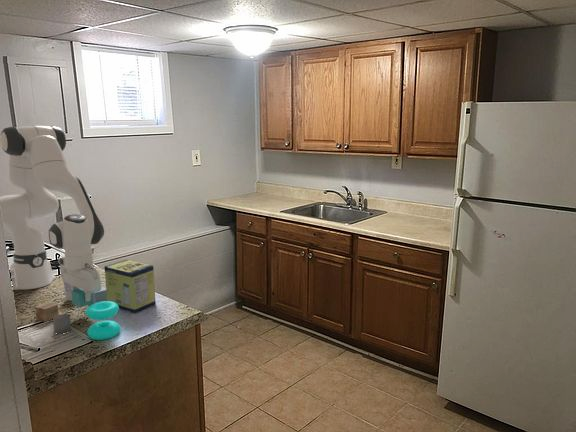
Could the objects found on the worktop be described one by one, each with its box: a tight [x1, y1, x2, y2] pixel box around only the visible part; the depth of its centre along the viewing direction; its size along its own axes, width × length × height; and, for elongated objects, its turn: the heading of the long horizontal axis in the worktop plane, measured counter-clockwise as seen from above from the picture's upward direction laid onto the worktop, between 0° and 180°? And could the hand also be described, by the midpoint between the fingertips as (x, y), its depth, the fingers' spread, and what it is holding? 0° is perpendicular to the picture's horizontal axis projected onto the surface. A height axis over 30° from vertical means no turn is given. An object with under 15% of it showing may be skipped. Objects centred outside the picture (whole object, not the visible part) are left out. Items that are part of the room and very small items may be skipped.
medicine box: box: [63, 282, 73, 302], centre depth 181 cm, size 8×4×9 cm, turn 168°
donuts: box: [85, 301, 121, 341], centre depth 149 cm, size 10×10×10 cm
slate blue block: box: [93, 285, 107, 304], centre depth 177 cm, size 5×5×5 cm
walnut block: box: [34, 301, 59, 323], centre depth 162 cm, size 5×5×5 cm
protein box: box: [104, 259, 157, 314], centre depth 173 cm, size 10×16×16 cm
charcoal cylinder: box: [52, 313, 72, 335], centre depth 152 cm, size 5×5×5 cm
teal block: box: [71, 288, 93, 308], centre depth 163 cm, size 5×5×5 cm
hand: (82, 298), depth 163 cm, fingers closed on teal block, 5 cm apart
